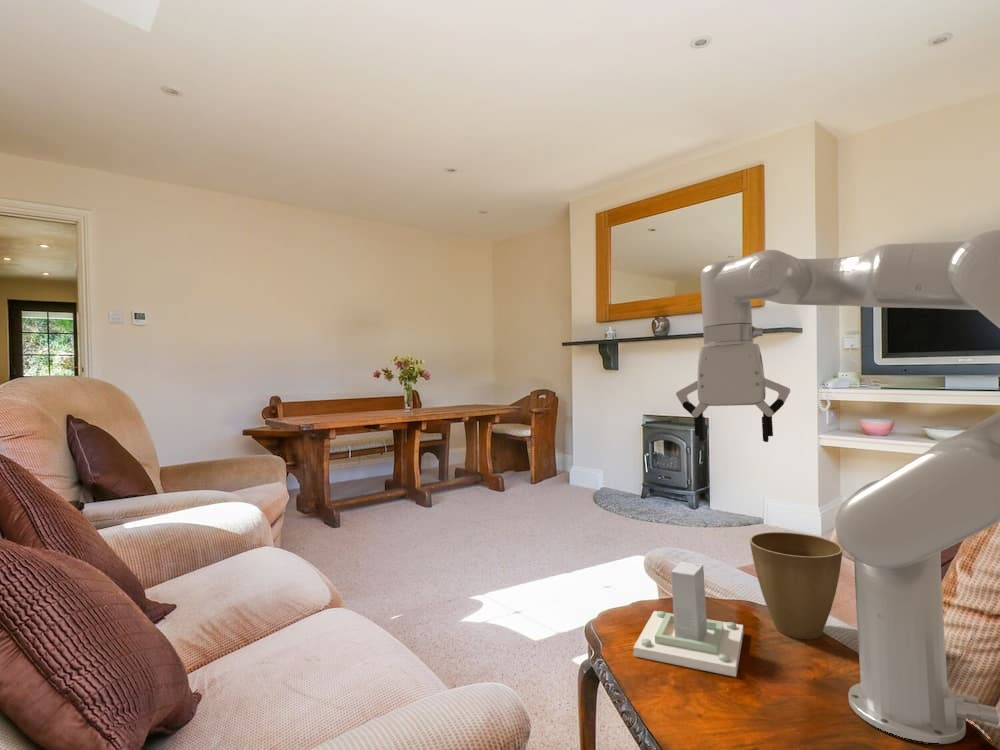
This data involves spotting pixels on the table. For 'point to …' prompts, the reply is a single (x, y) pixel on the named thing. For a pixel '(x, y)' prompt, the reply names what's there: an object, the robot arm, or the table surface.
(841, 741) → the table surface
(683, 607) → the skincare box
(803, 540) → the plant pot
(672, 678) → the table surface
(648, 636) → the baseplate
